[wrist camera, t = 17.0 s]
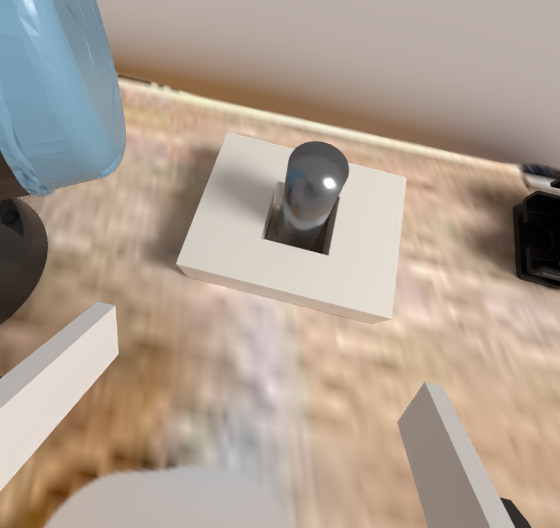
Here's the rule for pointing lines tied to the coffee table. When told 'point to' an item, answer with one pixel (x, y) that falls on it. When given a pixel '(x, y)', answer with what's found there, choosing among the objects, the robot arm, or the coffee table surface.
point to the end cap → (538, 238)
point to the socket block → (287, 259)
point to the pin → (310, 192)
